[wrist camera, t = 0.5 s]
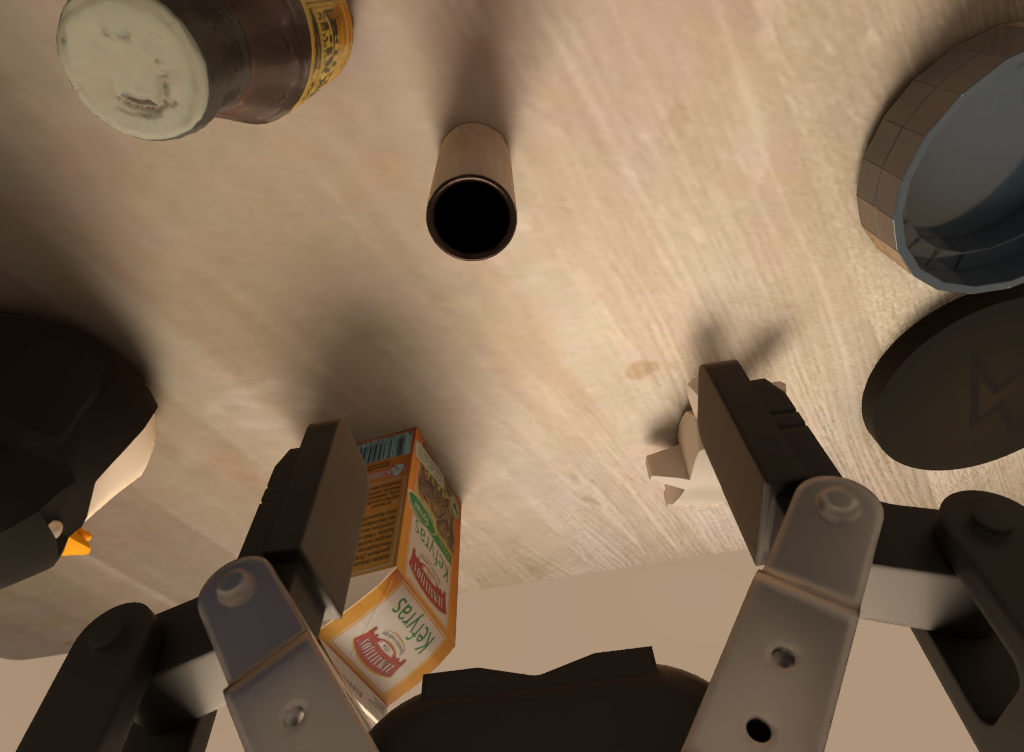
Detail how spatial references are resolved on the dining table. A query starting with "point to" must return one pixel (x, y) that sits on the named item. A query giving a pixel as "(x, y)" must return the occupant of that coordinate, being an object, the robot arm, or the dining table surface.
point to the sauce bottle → (200, 59)
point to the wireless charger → (953, 385)
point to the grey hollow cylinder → (472, 194)
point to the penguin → (62, 440)
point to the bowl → (954, 169)
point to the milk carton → (399, 576)
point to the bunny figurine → (688, 463)
